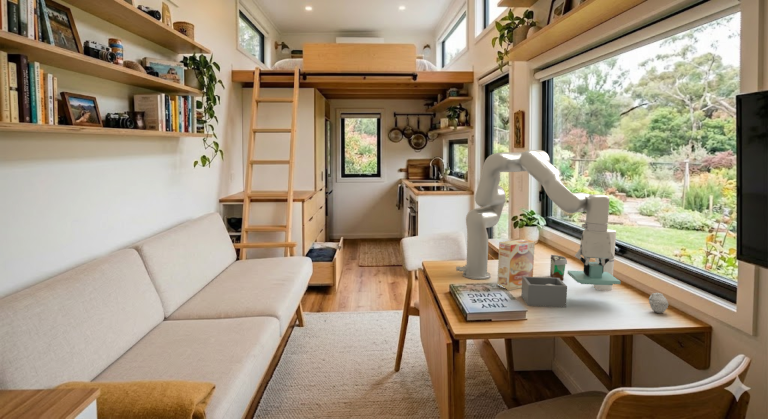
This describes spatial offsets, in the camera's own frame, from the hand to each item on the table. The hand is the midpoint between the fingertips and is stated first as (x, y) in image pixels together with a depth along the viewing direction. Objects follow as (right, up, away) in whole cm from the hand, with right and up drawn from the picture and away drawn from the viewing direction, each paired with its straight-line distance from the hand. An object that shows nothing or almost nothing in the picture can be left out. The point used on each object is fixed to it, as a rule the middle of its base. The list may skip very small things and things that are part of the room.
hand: (593, 274), depth 176 cm
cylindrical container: (+14, -9, +22) cm, 28 cm away
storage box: (-18, -11, +3) cm, 21 cm away
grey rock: (+20, -13, -8) cm, 25 cm away
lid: (0, -3, 0) cm, 3 cm away
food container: (0, -7, +35) cm, 36 cm away
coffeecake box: (-23, -9, +24) cm, 34 cm away
